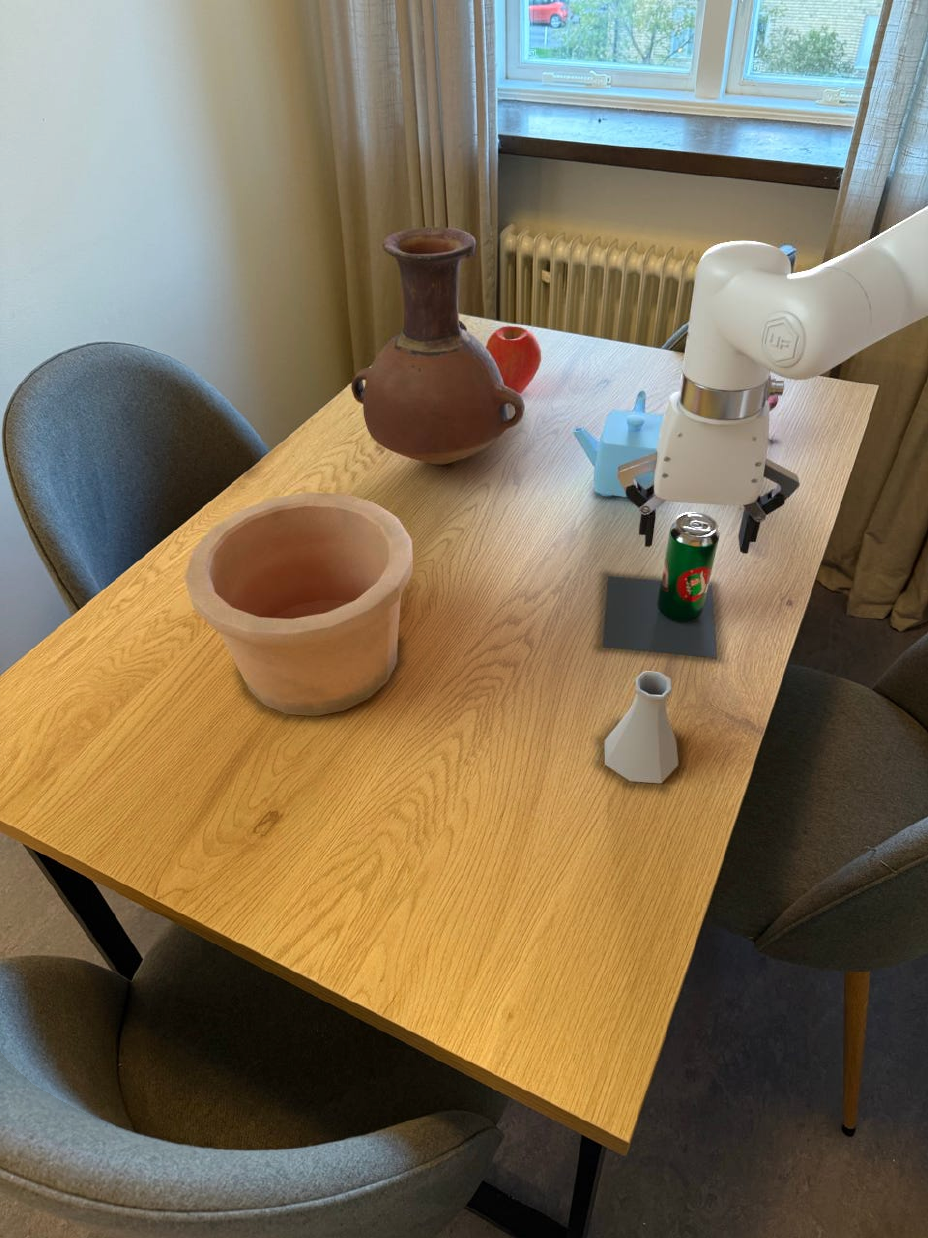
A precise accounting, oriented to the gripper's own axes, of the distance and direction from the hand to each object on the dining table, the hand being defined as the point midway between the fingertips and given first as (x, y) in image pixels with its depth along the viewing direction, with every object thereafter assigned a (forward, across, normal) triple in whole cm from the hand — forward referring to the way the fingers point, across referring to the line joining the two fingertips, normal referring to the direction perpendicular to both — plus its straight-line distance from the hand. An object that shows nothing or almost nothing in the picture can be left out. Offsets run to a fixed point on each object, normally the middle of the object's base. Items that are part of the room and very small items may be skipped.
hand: (695, 542), depth 87 cm
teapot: (+10, +8, -25) cm, 28 cm away
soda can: (+10, 0, 0) cm, 10 cm away
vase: (+10, +34, -28) cm, 45 cm away
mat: (+10, +3, +1) cm, 11 cm away
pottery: (+10, +38, +13) cm, 42 cm away
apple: (+9, +26, -48) cm, 55 cm away
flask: (+11, +4, +20) cm, 23 cm away
